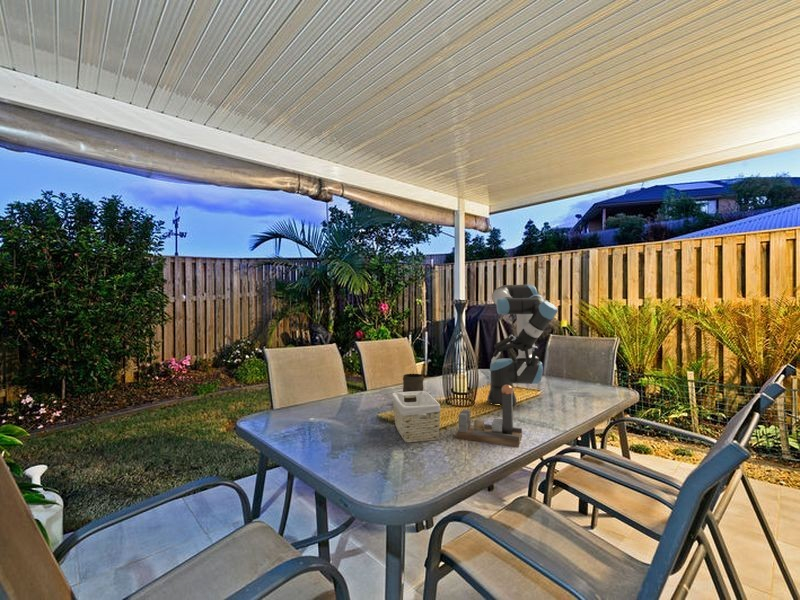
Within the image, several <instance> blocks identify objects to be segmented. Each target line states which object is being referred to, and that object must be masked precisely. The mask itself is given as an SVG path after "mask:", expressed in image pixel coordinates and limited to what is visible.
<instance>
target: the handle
mask: <svg viewBox="0 0 800 600" xmlns="http://www.w3.org/2000/svg"><path fill="white" fill-rule="evenodd" d="M513 391H514V387H513V388H512V387H511V386H510V385H504V386H503V387H502V406H501V407H502V409H501V410H502V413H501V414H502V419H501V418H494V419H493V420H492V422H491V425H492V432H494V433H502V434H510V435H513V427H514V415H513V414H514V405H513Z"/></svg>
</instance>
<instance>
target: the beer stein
mask: <svg viewBox="0 0 800 600" xmlns="http://www.w3.org/2000/svg"><path fill="white" fill-rule="evenodd" d="M424 379H425V377H424V375H423V374H421V373H407V374H404V375H403V377H402V380H403V381H402V383H403V385H402V392H411V391H424ZM404 402H416V397H413V398H404Z"/></svg>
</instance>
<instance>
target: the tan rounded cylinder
mask: <svg viewBox="0 0 800 600" xmlns="http://www.w3.org/2000/svg"><path fill="white" fill-rule="evenodd" d="M473 423H474V424H473V425H474V430H478V431H484V424H485V420H484V419H474V422H473Z"/></svg>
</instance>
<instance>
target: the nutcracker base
mask: <svg viewBox="0 0 800 600" xmlns="http://www.w3.org/2000/svg"><path fill="white" fill-rule="evenodd" d="M471 420H472V419H471V409H465V408H463V409H462V410H461V411H460V412H459V413H458V431H457V432H456V434H455V436H456V439H457V440H459V439H460V440H465V441H466V440H467V441H474V442H480V443H487V444H488V443H489V444H496V445H501V444H503V446H509V445H512V446H511V447H516V446H519V447H520V445H521V442H520V441H521V440H522V438H523V429H522V428H521V427H514V426H513V435H510V434H502V433H494V432H492V424H489V423H484V431H478V430H474V424H471Z"/></svg>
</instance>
